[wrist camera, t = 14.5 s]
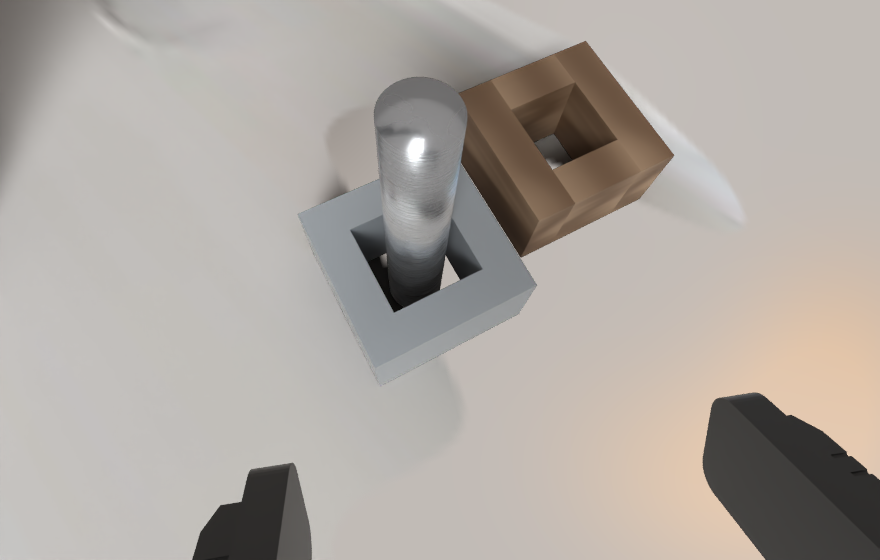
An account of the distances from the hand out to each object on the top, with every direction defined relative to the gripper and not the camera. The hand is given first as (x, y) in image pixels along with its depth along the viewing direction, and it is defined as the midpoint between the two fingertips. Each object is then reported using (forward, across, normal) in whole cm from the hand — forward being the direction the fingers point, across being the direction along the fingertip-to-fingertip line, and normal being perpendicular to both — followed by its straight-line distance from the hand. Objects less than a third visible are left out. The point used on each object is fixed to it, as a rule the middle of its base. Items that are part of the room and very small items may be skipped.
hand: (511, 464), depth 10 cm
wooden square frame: (+26, -9, +2) cm, 28 cm away
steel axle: (+22, 0, +6) cm, 23 cm away
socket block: (+22, 0, +6) cm, 23 cm away
